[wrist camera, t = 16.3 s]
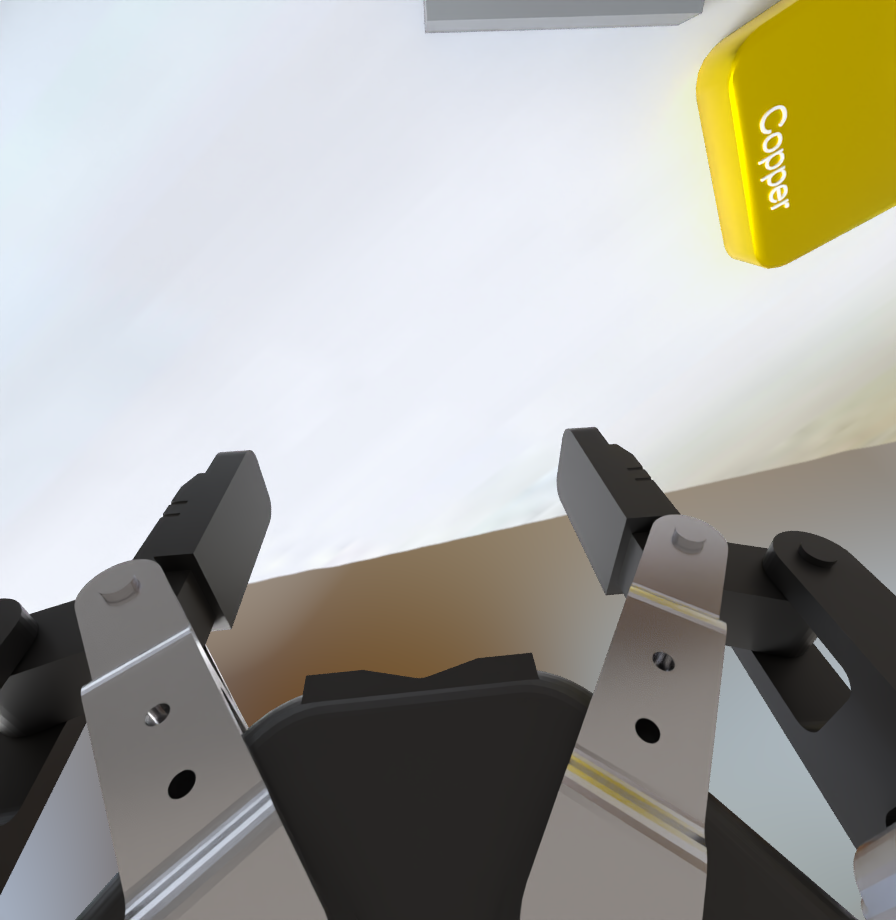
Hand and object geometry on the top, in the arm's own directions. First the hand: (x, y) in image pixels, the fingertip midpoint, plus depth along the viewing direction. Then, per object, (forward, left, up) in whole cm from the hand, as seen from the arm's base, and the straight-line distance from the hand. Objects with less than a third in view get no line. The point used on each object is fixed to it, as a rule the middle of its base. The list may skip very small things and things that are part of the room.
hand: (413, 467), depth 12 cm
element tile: (+30, +8, -28) cm, 42 cm away
